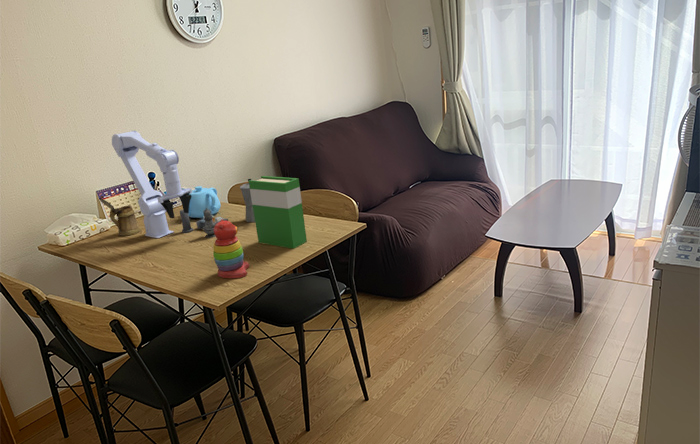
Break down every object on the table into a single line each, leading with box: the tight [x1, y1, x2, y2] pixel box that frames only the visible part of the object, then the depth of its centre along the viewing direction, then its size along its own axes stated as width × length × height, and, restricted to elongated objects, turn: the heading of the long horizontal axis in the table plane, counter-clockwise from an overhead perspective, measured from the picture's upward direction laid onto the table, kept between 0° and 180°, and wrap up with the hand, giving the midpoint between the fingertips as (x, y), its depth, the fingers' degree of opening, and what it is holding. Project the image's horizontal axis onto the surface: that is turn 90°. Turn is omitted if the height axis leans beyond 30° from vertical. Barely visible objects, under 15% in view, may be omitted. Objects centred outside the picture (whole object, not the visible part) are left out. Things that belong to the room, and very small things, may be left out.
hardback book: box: [248, 175, 308, 250], centre depth 190 cm, size 18×7×24 cm, turn 55°
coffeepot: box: [239, 178, 255, 223], centre depth 221 cm, size 15×9×18 cm, turn 37°
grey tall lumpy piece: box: [202, 208, 216, 239], centre depth 207 cm, size 6×6×12 cm
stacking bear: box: [213, 219, 250, 279], centre depth 167 cm, size 11×10×18 cm
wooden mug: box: [99, 197, 142, 237], centre depth 220 cm, size 9×14×18 cm, turn 139°
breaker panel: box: [196, 215, 229, 230], centre depth 219 cm, size 11×8×4 cm
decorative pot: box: [188, 185, 222, 220], centre depth 237 cm, size 16×16×14 cm
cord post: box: [179, 209, 194, 234], centre depth 217 cm, size 4×4×9 cm
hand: (179, 215), depth 206 cm, fingers open, 6 cm apart
